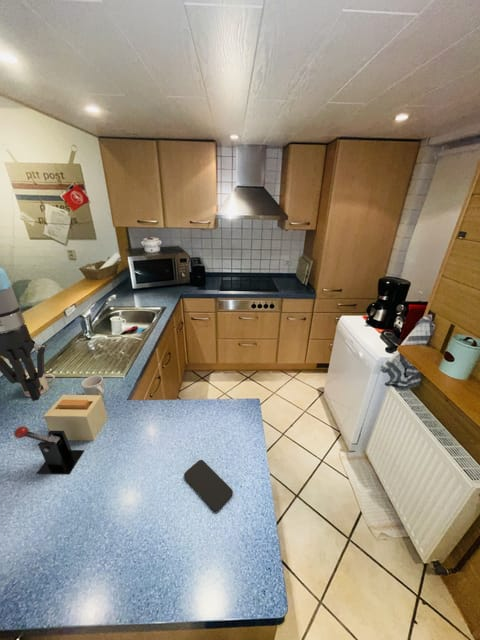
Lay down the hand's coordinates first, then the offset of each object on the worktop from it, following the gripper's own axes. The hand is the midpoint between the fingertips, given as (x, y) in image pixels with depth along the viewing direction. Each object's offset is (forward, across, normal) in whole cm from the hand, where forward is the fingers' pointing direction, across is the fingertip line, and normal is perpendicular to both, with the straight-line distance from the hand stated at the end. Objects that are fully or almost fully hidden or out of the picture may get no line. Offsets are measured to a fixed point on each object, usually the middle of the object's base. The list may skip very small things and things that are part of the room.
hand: (36, 397), depth 75 cm
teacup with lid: (+22, -11, +37) cm, 44 cm away
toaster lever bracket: (+22, +2, -7) cm, 23 cm away
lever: (+11, -2, -5) cm, 13 cm away
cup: (+22, +12, +22) cm, 33 cm away
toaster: (+22, +7, +5) cm, 24 cm away
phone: (+22, +42, -33) cm, 58 cm away
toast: (+20, +7, +5) cm, 22 cm away
